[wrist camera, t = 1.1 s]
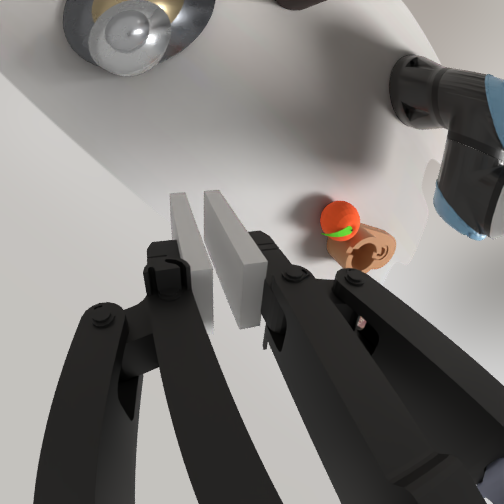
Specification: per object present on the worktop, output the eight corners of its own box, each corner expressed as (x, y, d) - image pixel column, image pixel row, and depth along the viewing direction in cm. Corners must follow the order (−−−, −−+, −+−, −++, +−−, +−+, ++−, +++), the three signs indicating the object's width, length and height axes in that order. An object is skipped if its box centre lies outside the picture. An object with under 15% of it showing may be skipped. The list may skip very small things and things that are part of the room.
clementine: (310, 237, 52) (331, 258, 46) (304, 204, 48) (326, 222, 42) (346, 221, 53) (369, 239, 47) (343, 189, 49) (368, 205, 43)
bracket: (319, 254, 55) (338, 274, 50) (337, 215, 52) (359, 233, 46) (377, 264, 63) (395, 281, 57) (393, 233, 60) (413, 248, 54)
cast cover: (171, 11, 25) (177, -11, 18) (165, 73, 30) (169, 67, 22) (101, 17, 22) (87, -3, 15) (96, 80, 27) (79, 77, 20)
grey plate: (220, -50, 22) (222, -53, 21) (207, 67, 32) (209, 66, 31) (78, -41, 15) (76, -44, 14) (60, 80, 26) (57, 80, 25)
